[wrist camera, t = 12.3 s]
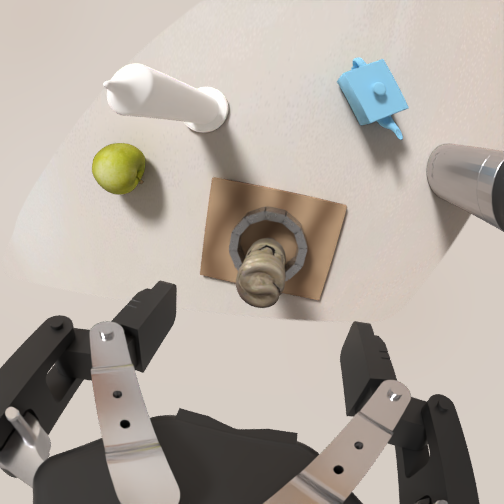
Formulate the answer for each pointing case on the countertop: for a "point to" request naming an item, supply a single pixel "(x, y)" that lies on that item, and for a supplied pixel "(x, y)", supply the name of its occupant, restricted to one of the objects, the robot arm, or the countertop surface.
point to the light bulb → (262, 273)
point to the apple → (118, 168)
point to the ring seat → (276, 216)
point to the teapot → (373, 94)
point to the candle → (165, 98)
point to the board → (271, 232)
